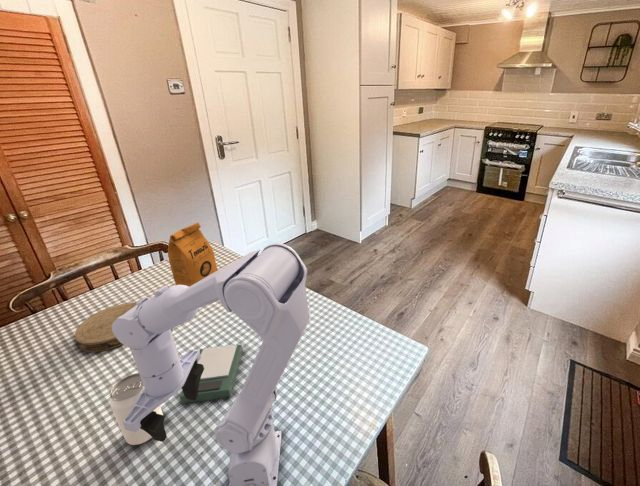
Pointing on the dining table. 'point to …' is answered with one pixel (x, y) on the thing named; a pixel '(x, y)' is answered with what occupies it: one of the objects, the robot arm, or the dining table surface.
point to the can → (128, 406)
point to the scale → (217, 372)
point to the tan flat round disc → (101, 329)
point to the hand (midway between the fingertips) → (177, 417)
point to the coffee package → (190, 256)
